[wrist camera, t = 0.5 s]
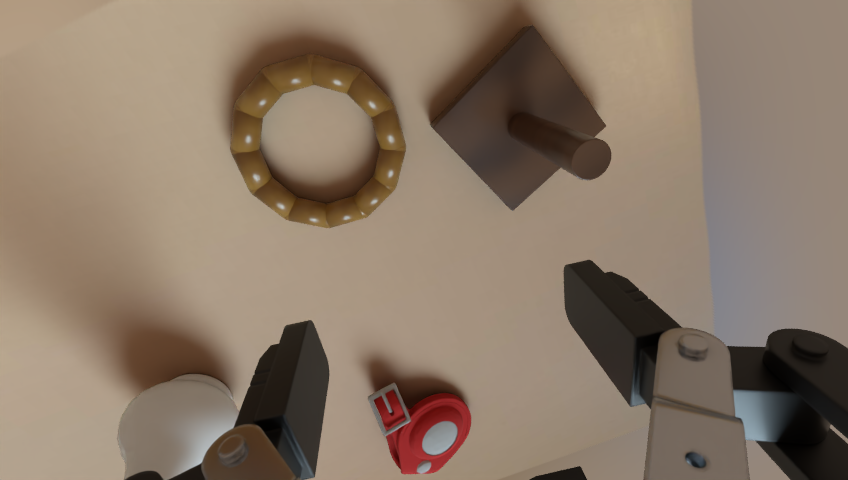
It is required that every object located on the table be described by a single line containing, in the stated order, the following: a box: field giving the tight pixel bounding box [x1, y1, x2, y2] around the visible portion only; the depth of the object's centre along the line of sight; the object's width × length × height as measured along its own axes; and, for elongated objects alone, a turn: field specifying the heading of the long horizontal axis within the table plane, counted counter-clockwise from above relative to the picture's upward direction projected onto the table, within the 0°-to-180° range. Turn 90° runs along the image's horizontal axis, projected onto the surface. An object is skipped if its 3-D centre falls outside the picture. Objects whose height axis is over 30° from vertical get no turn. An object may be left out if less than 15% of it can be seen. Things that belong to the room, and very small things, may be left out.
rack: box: [430, 25, 611, 211], centre depth 24 cm, size 9×9×12 cm
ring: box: [230, 54, 406, 228], centre depth 28 cm, size 12×12×2 cm
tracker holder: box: [368, 383, 471, 474], centre depth 39 cm, size 12×4×10 cm
